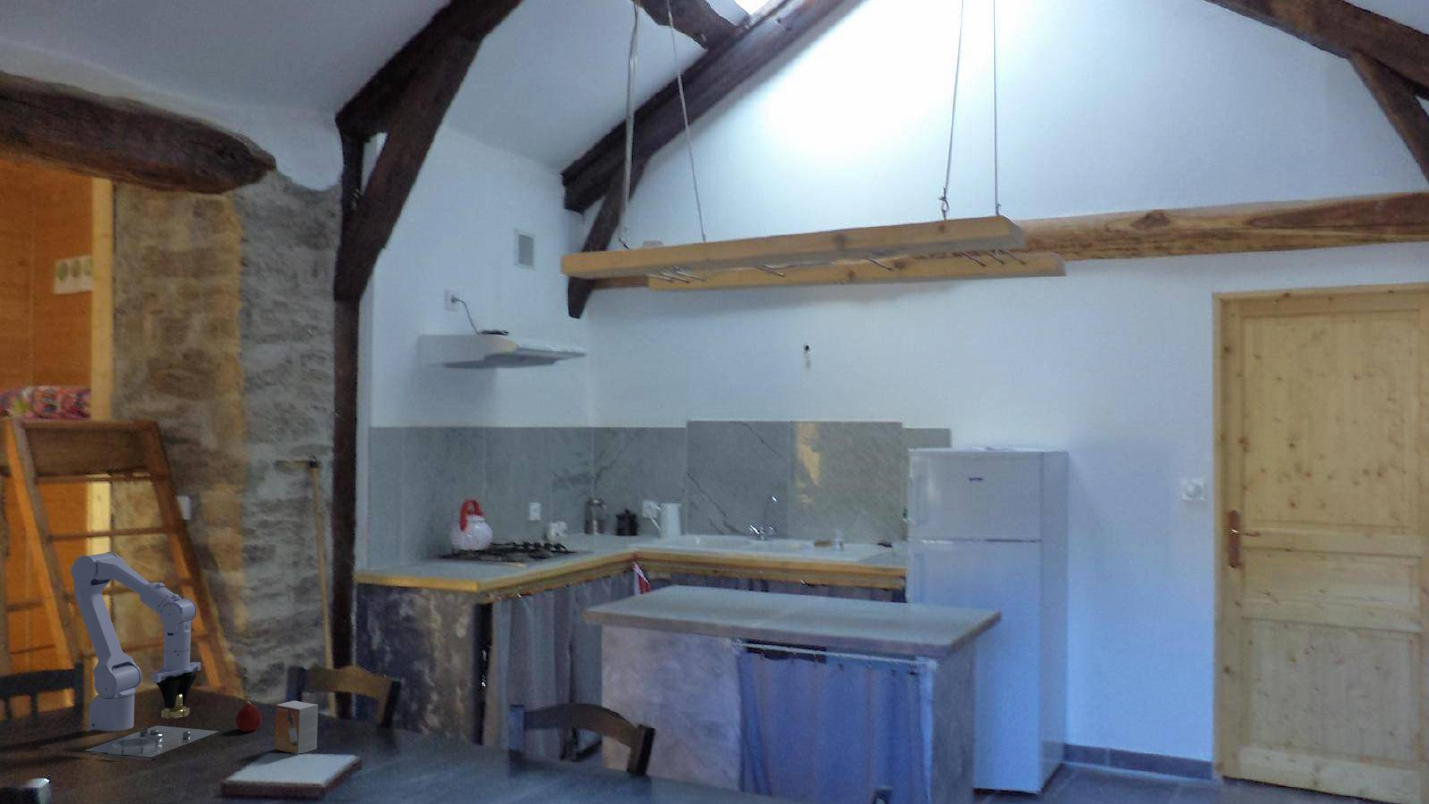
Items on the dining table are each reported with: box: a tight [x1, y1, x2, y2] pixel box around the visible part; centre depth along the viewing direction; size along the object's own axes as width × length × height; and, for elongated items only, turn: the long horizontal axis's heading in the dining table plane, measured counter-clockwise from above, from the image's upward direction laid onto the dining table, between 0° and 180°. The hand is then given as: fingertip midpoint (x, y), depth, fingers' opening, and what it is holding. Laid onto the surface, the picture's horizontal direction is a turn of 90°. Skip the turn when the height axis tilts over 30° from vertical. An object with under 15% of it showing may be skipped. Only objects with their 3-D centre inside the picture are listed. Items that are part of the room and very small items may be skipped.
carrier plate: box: [84, 725, 219, 762], centre depth 256 cm, size 18×23×3 cm
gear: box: [161, 693, 191, 719], centre depth 264 cm, size 6×6×5 cm
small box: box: [274, 700, 319, 754], centre depth 254 cm, size 8×6×10 cm
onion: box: [235, 700, 262, 733], centre depth 266 cm, size 6×6×8 cm
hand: (175, 706), depth 264 cm, fingers closed on gear, 3 cm apart
